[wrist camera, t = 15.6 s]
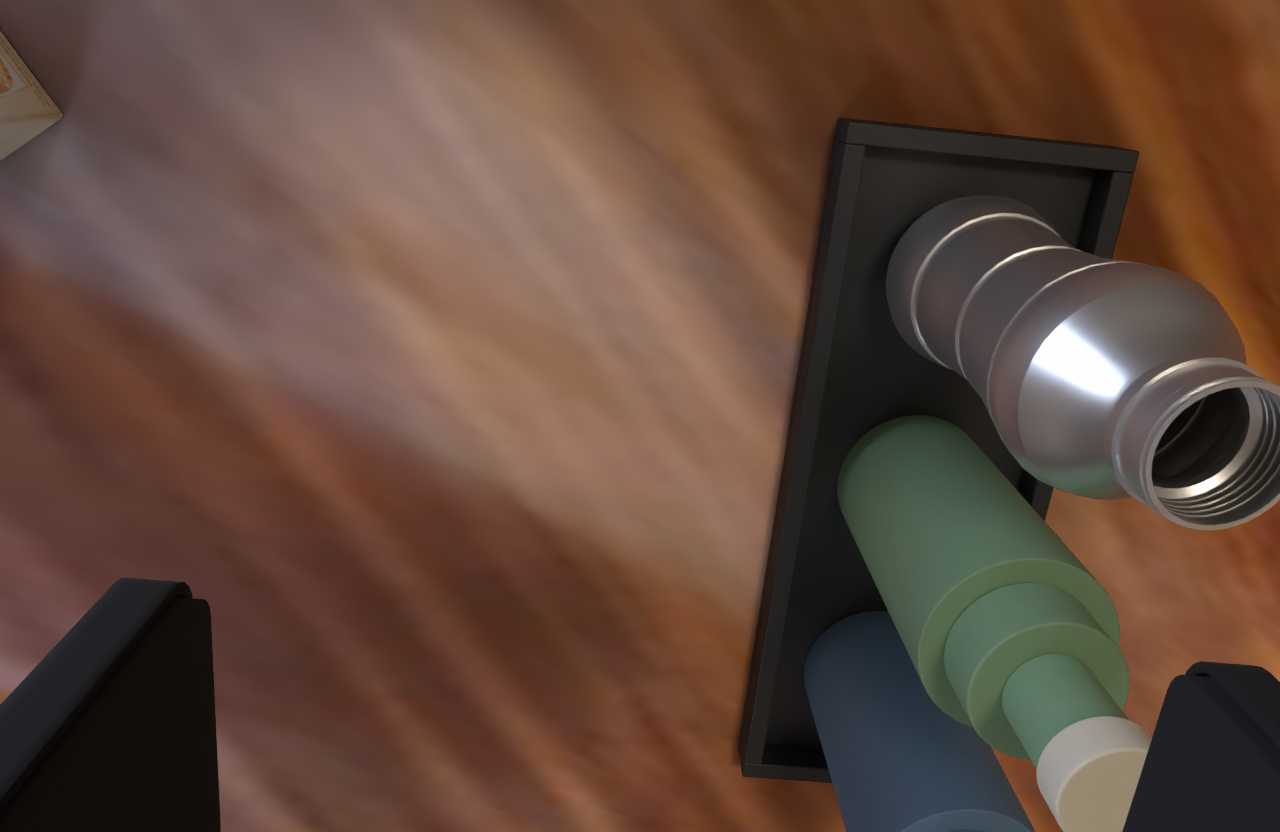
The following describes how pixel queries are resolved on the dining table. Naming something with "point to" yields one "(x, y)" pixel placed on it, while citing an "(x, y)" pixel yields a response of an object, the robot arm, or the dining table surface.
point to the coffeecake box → (21, 102)
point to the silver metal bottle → (1091, 363)
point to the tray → (886, 382)
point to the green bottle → (997, 614)
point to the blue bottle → (899, 740)
